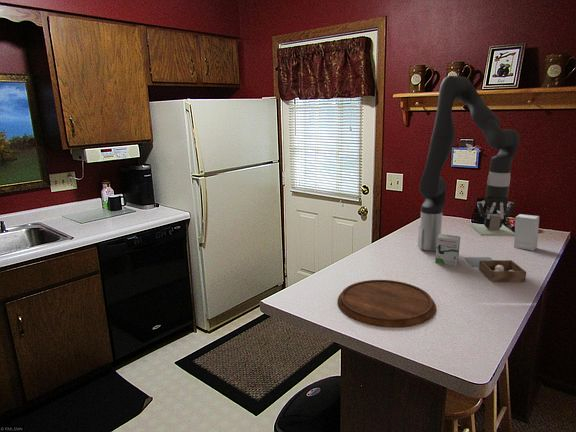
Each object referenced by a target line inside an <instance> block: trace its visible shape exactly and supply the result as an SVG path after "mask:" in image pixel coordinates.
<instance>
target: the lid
mask: <svg viewBox="0 0 576 432" xmlns="http://www.w3.org/2000/svg"><path fill="white" fill-rule="evenodd" d="M500 220H501V216H499V215H498V213H492V214H491V217H490V225H489V228H486V227H485V226H484V223H483V224H480V223H479V224H476V223H475V224H474V223H471V224H470V227H471V228H472V229H473V230H474V231H475V232H477V233H478V234H479V236H481V237H515V236H516V234H515V231H512V230H511V229H510V228H508V227H507V226H505V225H504V224H502V227H500Z"/></svg>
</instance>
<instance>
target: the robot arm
mask: <svg viewBox="0 0 576 432" xmlns="http://www.w3.org/2000/svg"><path fill="white" fill-rule="evenodd" d="M438 91H439V92H438V99H437V107H436V108H437V109H436V113H435V114H436V115H435V119H434V123H433V125H434V126H433V130H432V133H431V137H430V143H429V148H428V152H427V157H426V162H425V166H424V169H423V172H422V176H421V178H420V181H419V185H418V189H419V193H420V195H421V196H422V197H423V198H424V201H423V203H421V207H420V222H419V223H420V225H419V227H418V237H417V239H418V240H417V246H418V248H419V249H420V250H421V251H425V252H429V251H430V252H436V246H437V237H438V235H439V234H442V226H443V223H442V222H443V209H444V207H445V204H446V196H447V183H446V180H445V179H444V178H443V177H442V176H441V173H442V170H443V167H444V165H445V163H446V162H447V160H448V157H449V156H450V154H451V152H452V150H453V146H454V142H455V138H456V128H455V123H454V119H453V113H452V112H453V107H454V102H455V101H461V102H462V103H463V104H465V105H466V106H467V107H468V109H469V112H470V117H471V119H472V121H473V122H474V124H475V126H477V127H478V128H479V129H480V130H481V131H482V134H483V136H484V139H485V140H486V142H487V144H488V145H489V147H491V148H492V149H495V150H499V151H498V153H497V154H496V155H494V156H492V157H491V159H490V164H489V171H488V174H487V175H488V176H487V181H486V191H485V197H484V199H483V200H482V201H476V206H477V209H478V213H479V215H480V217H482V218H484V223H483V224H484V226H485V227H486V228H489V225H490V217H491V214H494V213H493V212H494V211H496V213H497V214H498V215H499V216H501V220H500V227H502V225H503V224H504V223H503V221H504V219H506V218H507V219H508V218H510V215H511V214H512V212H513V210H514V208H515V207H516V203H515V202H512V201H509V192H510V185H511V184H510V182H511V170H512V165H513V164H512V162H513V159H514V157H515V155H516V153H517V150H518V148H519V145H520V135H519V132H518V131H517V130H516V129H513V128H512V129H511V128H509V129H508V128H507V129H502V128H500V127H501V126H502V121H501V119H500V118H499V117H498V115H496V114H495V113H494V112H493V110H491V109H490V107H489V106H488V105H487V104H486V103H485V102H484V100H483V98H482V97H481V96H480V94H479V93H478V91H477V90H476V88H475V86H474V84H473V83H472V81H471V80H470V79H469V78H468V77H466V76H460V75H447V76H446V77H444V78H443V80H442V81H441V83H440V87H439V90H438ZM485 205H486V209H484V207H485ZM505 207H506V208H505ZM504 208H505V211H504Z"/></svg>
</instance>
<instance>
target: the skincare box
mask: <svg viewBox="0 0 576 432" xmlns="http://www.w3.org/2000/svg"><path fill="white" fill-rule="evenodd" d="M514 224H515V225H514V226H515V227H514V233H515V234H516V236H514V239H513V248H516V249H522V250H528V251H535V250H536V249H537V247H538V241H539V240H538V239H539V226H540V215H531V214H522V213H519V214H518V215H517V216H515V223H514Z"/></svg>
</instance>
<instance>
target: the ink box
mask: <svg viewBox="0 0 576 432" xmlns="http://www.w3.org/2000/svg"><path fill="white" fill-rule="evenodd" d="M460 245H461V236H459V235H451V234H443V233H441V234H439V235H438V237H437V246H436V251H435V259H434V260H435V261H434V262H435V264H440V265H447V266H448V265H449V266H450V265H451V266H455V267H457V266H458V263H459V255H460V247H461V246H460Z"/></svg>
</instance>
